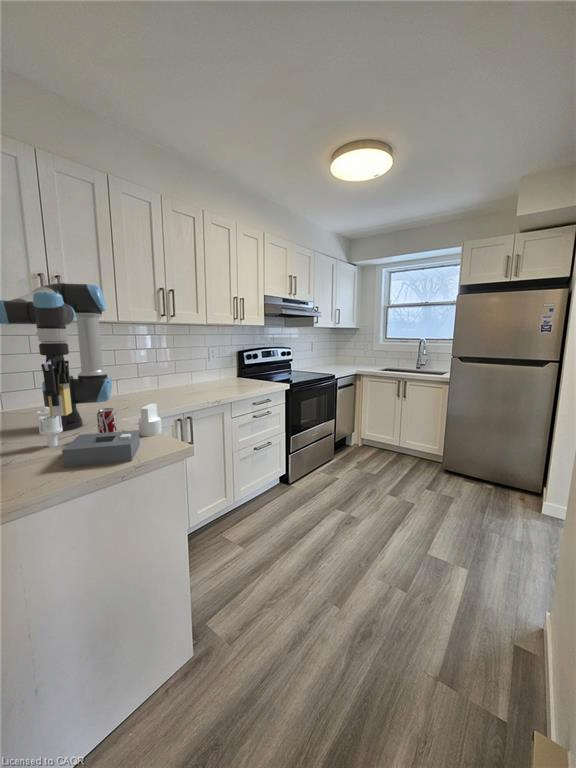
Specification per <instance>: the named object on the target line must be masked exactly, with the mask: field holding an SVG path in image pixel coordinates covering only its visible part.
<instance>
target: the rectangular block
mask: <svg viewBox="0 0 576 768" xmlns="http://www.w3.org/2000/svg"><path fill="white" fill-rule="evenodd" d="M59 393H60V394H59V395H61V398H62V407H63V415H60V416H66V415H68V414H70V413H72V406H71V397H70V388H69V383H61V384H59ZM48 400H49V408H50V416H53V413H52V405H51V397H50V396H48Z"/></svg>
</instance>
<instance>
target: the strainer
mask: <svg viewBox="0 0 576 768" xmlns="http://www.w3.org/2000/svg"><path fill="white" fill-rule="evenodd" d="M49 412H50V408H49V407H45V406H44V407H43V409H42V410H39V411H36V416H37V424H38V430H39V435H41V436H46V439H47V446H48V448H54V447H57V445H58V446H59V444H58V442H59V441H58V434H59V433H62V432H63V429H62V421H61V416H56V417H54V416H52V417H51V416H50V413H49ZM47 417H50V418H47ZM44 419H45V420H44ZM43 421H44V422H43Z"/></svg>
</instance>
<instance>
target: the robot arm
mask: <svg viewBox="0 0 576 768" xmlns="http://www.w3.org/2000/svg"><path fill="white" fill-rule="evenodd" d="M106 309H107V308H106V301H105V297H104V294H103V292H102V289H101V288H100V287H99V286H98V285H96V284H90V283H89V284H88V283H85V284H84V283H67V282H65V283H64V282H63V283H62V282H61V283H60V282H59V283H58V282H57V283H50V284H45V285H42V286H39V287H36V288H34V289H33V290H32V291H31V292H30V293H28V294H25V295H22V296H18V297H16V298H14V299H10V300H3V299H0V325H2V324H3V325H36V333H35V334H36V335H37V339H38V340H37V341H38V342H40V343H39V344H38V350H39V355H40V356H45V363H41V370H42V373H43V382H42V383H41V385H42V395H43V396H42V397H43V402H44V403H43V404H44V407H49V400H48V396H50V397H51V405H52V413H53V416H54V417H56V416H60V415H63V407H62V398H61V395H59V394H60V393H59V384H61V383H69V388H70V397H71V406H72V413H70V414H68V415H66V416H61V421H62V429H63V431H64V432H65V431H69V430H73V429H77V428H79V427H81V426H83V425H84V423H83V418H82V416H81V415H80V413H79V411H78V409H77V405H79V404H93V403H94V404H95V403H96V404H99V403H105V402H108V401H109V400H110V398H111V396H112V389H113V388H112V387H113V383H112V382H113V381H112V378H111V377H110V376H108V372H106V371H105V370H104V366H103V356H102V353H103V352H102V344H101V343H102V342H101V341H102V340H101V331H100V329H101V328H100V318H101V317H102V316H103V312H106V311H107V310H106ZM75 319H76V326H77V327H76V329H77V336H78V337H77V338H78V347H79V348H78V349H79V350H78V351H79V358H80V360H79V361H80V372H79V373H78V374H77V378H74V376H73V375H70V368H69V367H70V366H69V365H70V364H69V363H70V362H69V360H65V357H64V356H66V355H69V354H70V352H69V344H68V343H67V342H68V332H67V325H70V324H72V323H73V322H74V321H75ZM49 413H50V412H49ZM51 417H52V416H51ZM47 418H50V417H47ZM43 420H45V419H43ZM43 422H44V421H43ZM63 431H62V432H63Z"/></svg>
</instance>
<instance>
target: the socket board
mask: <svg viewBox="0 0 576 768" xmlns="http://www.w3.org/2000/svg"><path fill="white" fill-rule="evenodd" d="M140 442H141V441H140V434H139V429H137V430H135V429H134V430H124V431H123V430H122V431H117V432H108V433H99V432H97V433H86V434H85V433H84V434H82V433H81V434H78V435H77V436H76V437H75V438H74V439H73V440H72V441H70V442H69V443H68V444H67V445H66V446H65V447H64V448H63V449H61V452H62V453H61V454H62V461H63V468H75V467H83V466H93V465H105V464H115V463H124V462H132V461H133V460H134V457H135V455H136V453H137V452H138V450H139V447H140V446H139V445H141V443H140Z"/></svg>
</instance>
